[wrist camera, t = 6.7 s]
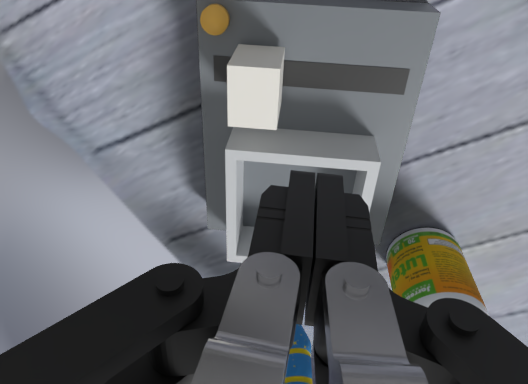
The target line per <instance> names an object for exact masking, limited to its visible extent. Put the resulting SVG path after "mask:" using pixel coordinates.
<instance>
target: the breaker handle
mask: <svg viewBox="0 0 528 384" xmlns="http://www.w3.org/2000/svg"><path fill="white" fill-rule="evenodd" d="M284 54H285V47H275V46H260V45H245V44H238V46H237V48H236V50H235V52H234V53H233V55H232V57H231V59H230V61H229V62H228V64H227V111H228V126H230V127H242V128H255V129H267V130H277V125H278V119H279V113H280V107H281V99H282V84H283V69H284Z"/></svg>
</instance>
